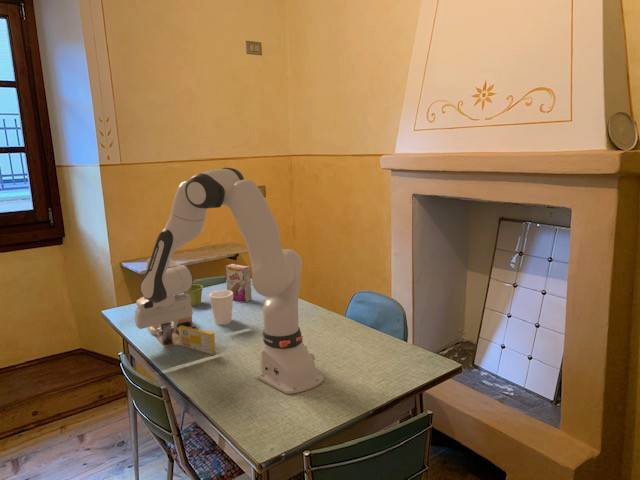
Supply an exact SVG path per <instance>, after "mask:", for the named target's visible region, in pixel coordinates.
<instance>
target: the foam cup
mask: <svg viewBox="0 0 640 480" xmlns="http://www.w3.org/2000/svg"><path fill="white" fill-rule="evenodd" d="M208 298H209V302H210V305H211V310H212V315H213V319H214V322H215V323H214V324H216V325H220V326H222V325H223V326H224V325H228V324H230V323H231V322H232V320H233V319H232V316H233V303H234V302H233V301H234V300H233V292H232V291H229V290H227V289H222V290H215V291H212V292H210V293H209V297H208Z"/></svg>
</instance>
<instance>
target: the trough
mask: <svg viewBox="0 0 640 480" xmlns="http://www.w3.org/2000/svg"><path fill="white" fill-rule="evenodd" d="M173 323H174V322H173V321H172V322H171V327H172V326H173ZM159 327H160V328H159ZM157 329H158V330H160V329H161V324H159V325H158V328H157ZM147 331H148V332H149V333H150V335H153V334H154V335H156V334H157V331H156V329H155V328H154V327H153V326H151V327H147ZM154 335H153V336H154Z"/></svg>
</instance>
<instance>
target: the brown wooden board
mask: <svg viewBox="0 0 640 480" xmlns="http://www.w3.org/2000/svg"><path fill="white" fill-rule="evenodd" d="M192 323H193V322H192ZM192 323H191V322H190V321H188V322H184V323H179V324H177V326H176V332H172V340H173V341H172V342H170V343H163V342H162V335H161V336H158V335H157V334H156V335H154V334H152V335H153V337H155V338H156V340H157V341H158V342H159V343H160V344H161V345H162V347H163V348H165V349H166V348H170V347H173V346H177V345H180V343H179V329H178V327H179V326H181V325H182V326H186V327H190V328H195V329H199V328H198V327H196V325H195V324H194V323H193V324H192ZM159 328H160V327H159Z"/></svg>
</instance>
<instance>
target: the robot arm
mask: <svg viewBox="0 0 640 480" xmlns="http://www.w3.org/2000/svg"><path fill="white" fill-rule="evenodd" d="M222 206H226V207H227V208H228V209H229V210H230V211H231V213H232V215H233V217H234V220H235V222H236V224H237V226H238V228H239V231H240V233H241V235H242V238H243V239H244V242H245V245H246V248H247V251H248V256H249V260H250V265H251V270H252V276H251V283H252V284H251V285H252V287H253V288H254V290H255V291H256V293H258V294H259V295H260V296H263V297H264V298H265V299H264V303H263V305H262V310H263V311H262V312H263V315H262V316H263V317H262V318H263V331H262V339H263V346H262V349H261V351H260V358H259V359H260V360H259V361H260V362H259V363H260V367H259V368H260V369H259V372H258V373H257V374H256V378H257V379H258V380H260V381H262V382H264V383H265V384H267V385H269V386H271V387H273V388H275V389H276V390H278V391H281V392H282V393H284V394H286V395H291V394H297V393H302V392H305V391H308V390H310V389H313V388H315V387H318V386H319V385H320V384H322V383H323V382H324V376H323V375H322V373H320V371H319V370H318V369H317V368H316V363H315V359H316V358H315V357H316V356H315V354H314V353H310V351H309V350H308V347H307V345H306V346H305V344H304V341H303V337H304V336H303V335H302V332H301V328H300V326H299V297H300V290H301V289H300V288H301V278H302V277H301V275H302V274H301V273H302V269H303V259H302V257H301V255H300V254H299V253H298V252H297V251H295V250H294V249H291V248H283V247H282V243H281V237H280V235H281V233H280V228H279V226H278V224H277V221H276V219H275V217H274V215H273V213H272V210H271V208H270V206H269V204H268V201H267V200H266V198H265V196H264V194H263V193H262V191H261V190H260V188H259V187H258V185H257V184H256V182H255V181H252V180H251V179H245V178H244V176H243V174H242V172H241V171H239V170H238V169H236V168H234V167H233V168H232V167H223V168H217V169H209V170H207V171H204V172H200V173H197V174H194V175H193V176H192V177H190V178H189V179H188V180H183V182H181V183H180V184H179V185H178V186H177V190H176V191H175V194H174V197H173V202H172V205H171V210H170V213H169V218H168V221H167V222H166V224H165V226H164V228H163V229H162V230H161V231H160V233H159V234H158V236H157V238H156V241H155V244H154V247H153V250H152V254H151V256H150V257H149V258H148V259H147V260H146V272H145V273H144V275H142V276H143V277H142V279H141V280H140V285H139V286H140V287H139V288H140V293H141V296H142V297H140V298H139V299H137V300H136V306H137V308H136V309H135V310H134V311H135V313H134V314H135V315H134V321H135V326H136V327H137V328H138V330H142V329H148V327H151V326H153V327H154V328H155V329H156V331H157V335H158V336H161V335H162V330H161V329H160V330H158V329H157V328H158V325H159V324H164V323H168V322H172V321H173V322H174V323H173V326H172V327H171V330H172V332H176V326H177V324H178V320H180V319H184V318H188V317H191V316H192V317H193V314H194V312H193V306H191V296H190V294H187V293H183V292H184V291H187V290H188V289H190V288H191V287H192V285H194V276H193V273H192V271H191V269H190V268H189V267H188V266H186V265H184V264H179V263H178V262H176V261H175V260H173V259H172V256H173V255H174V253H175V252H176V251H177V250H178V249H180V248H181V247H182V246H185V245H186V244H187V243H189V242H190V241H193V240H194V239H196V238H197V237H198V236H199V235H200V234H201V233H202V230H203V228H204V226H205V222H206V218H207V217H206V216H207V212H208V209H217V208H221V207H222Z"/></svg>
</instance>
